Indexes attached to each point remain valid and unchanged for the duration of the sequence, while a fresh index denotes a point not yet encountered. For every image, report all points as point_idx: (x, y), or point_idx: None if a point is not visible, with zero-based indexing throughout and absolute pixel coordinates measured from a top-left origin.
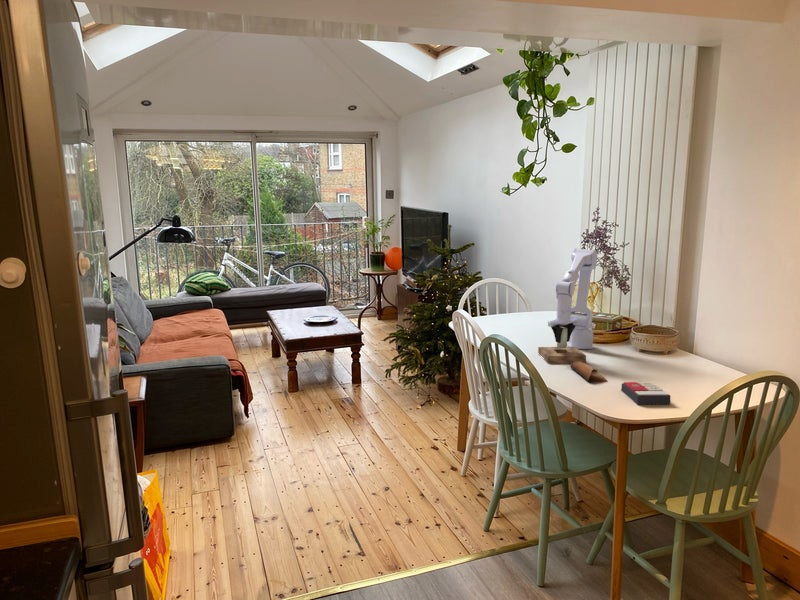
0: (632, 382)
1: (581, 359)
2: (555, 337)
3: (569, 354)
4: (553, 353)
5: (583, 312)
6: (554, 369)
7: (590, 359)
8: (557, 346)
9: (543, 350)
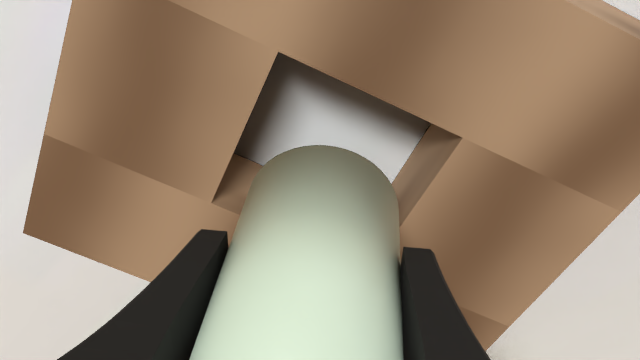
0: None
1: None
2: (163, 283)
3: None
4: (154, 189)
5: None
6: (39, 318)
7: (584, 293)
8: (247, 194)
9: (97, 11)
